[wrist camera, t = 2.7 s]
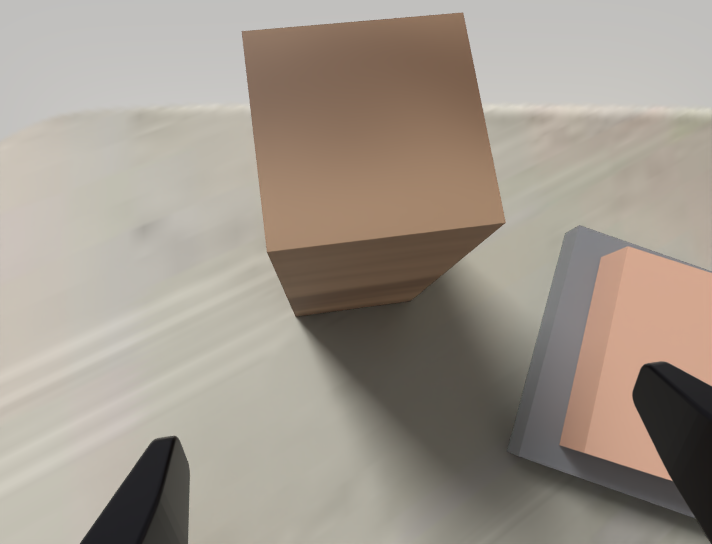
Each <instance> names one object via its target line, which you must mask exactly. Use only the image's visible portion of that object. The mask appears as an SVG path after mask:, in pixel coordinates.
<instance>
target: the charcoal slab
mask: <svg viewBox="0 0 712 544" xmlns="http://www.w3.org/2000/svg"><path fill="white" fill-rule="evenodd" d="M627 246H629V247H632V248H635V249H638V250H641V251H645V252H648V253H651V254H654V255H657V256H660V257H663V258H666V259H669V260H673V261H676V262H679V263H682V264H685V265H688V266H691V267H694V268H697V269H701V270H704V271H707V272H710V273H712V271H709V270H706V269H703V268H700V267H697V266H695V265H692V264H689V263H686V262H683V261H680V260H677V259H675V258H672V257H669V256H666V255H663V254H660V253H657V252H655V251H652V250H649V249H646V248H643V247H640V246H637V245H634V244H632V243H629V242H626V241H623V240H620V239H617V238H614V237H612V236H609V235H606V234H603V233H600V232H597V231H594V230H592V229H589V228H586V227H583V226H580V225H579V226H577V227H575V228H574V229H572V230H570V231H569V232H567V233H565V236H564V240H563V244H562V247H561V251H560V255H559V259H558V262H557V266H556V270H555V273H554V277H553V281H552V285H551V288H550V292H549V296H548V300H547V303H546V307H545V311H544V315H543V318H542V322H541V326H540V329H539V333H538V337H537V341H536V344H535V348H534V352H533V356H532V359H531V363H530V367H529V371H528V374H527V378H526V382H525V386H524V389H523V393H522V397H521V400H520V404H519V408H518V412H517V415H516V419H515V423H514V427H513V430H512V434H511V438H510V442H509V445H508V449H507V452H509V453H512V454H514V455H516V456H519V457H522V458H525V459H527V460H530V461H533V462H536V463H539V464H542V465H544V466H547V467H550V468H553V469H556V470H559V471H562V472H564V473H567V474H570V475H573V476H576V477H579V478H582V479H584V480H587V481H590V482H593V483H596V484H599V485H601V486H604V487H607V488H610V489H613V490H616V491H619V492H621V493H624V494H627V495H630V496H633V497H636V498H639V499H641V500H644V501H647V502H650V503H653V504H656V505H658V506H661V507H664V508H667V509H670V510H673V511H676V512H678V513H681V514H684V515H687V516H690V517H693V518H695V517H694V515H693V513H692V512H691V510H690V509H689V507H688V505H687V504H686V502H685V500H684V499H683V497H682V496H681V494H680V492H679V491H678V489H677V488H676V486H675V484H674V482H673V481H670V480H667V479H664V478H661V477H658V476H655V475H652V474H648V473H645V472H642V471H639V470H636V469H633V468H630V467H626V466H623V465H620V464H617V463H614V462H611V461H608V460H605V459H601V458H598V457H595V456H592V455H589V454H586V453H583V452H579V451H576V450H573V449H570V448H567V447H564V446H561V445H559V444H560V440H561V435H562V431H563V426H564V422H565V417H566V413H567V408H568V404H569V399H570V395H571V390H572V386H573V381H574V376H575V372H576V367H577V363H578V358H579V354H580V349H581V345H582V340H583V336H584V331H585V327H586V322H587V318H588V313H589V309H590V304H591V300H592V295H593V291H594V286H595V282H596V277H597V273H598V268H599V264H600V259H601V257H603V256H605V255H608V254H610V253H612V252H615V251H617V250H620V249H622V248H625V247H627ZM695 519H696V518H695Z"/></svg>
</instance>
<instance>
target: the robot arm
mask: <svg viewBox="0 0 712 544" xmlns="http://www.w3.org/2000/svg"><path fill="white" fill-rule="evenodd" d="M632 398H633V402H634V405H635V407H636V409H637V411H638V413H639V415H640V417H641V419H642V421H643V424H644V426H645V428H646V430H647V432H648V434H649V436H650V438H651V440H652V442H653V444H654V446H655V448H656V450H657V452H658V454H659V456H660V458H661V460H662V462H663V464H664V466H665V468H666V470H667V472H668V474H669V476H670V477H671V479H672V481H673V482H674V484H675V486H676V488H677V489H678V491H679V492H680V494H681V496H682V497H683V499H684V500H685V502H686V504H687V505H688V507H689V509H690V510H691V512H692V513H693V515H694V517H695V518H696V520H697V522H698V523H699V525H700V526H701V528H702V530H703V531H704V533H705V534H706V536H707V538H708V539H709V541H710V543H711V544H712V386H711V385H709V384H707V383H705V382H703V381H701V380H700V379H698V378H696V377H694V376H692V375H690V374H689V373H687V372H685V371H683V370H681V369H679V368H677V367H676V366H674V365H672V364H670V363H668V362H664V361H659V362H652V363H646V364H644V365H643V366H642V367H641V369H640V371H639V374H638V377H637V380H636V383H635V386H634V388H633V392H632ZM189 485H190V470H189V464H188V461H187V458H186V456H185V453H184V450H183V448H182V445H181V443H180V440H179V439H178V437H176V436H169V437H162V438H157V439H155V440H153V441H152V442H151V443H150V445H149V446H148V448H147V449H146V450H145V452H144V453H143V455H142V456H141V457H140V459H139V460H138V462H137V463H136V465H135V466H134V467H133V469H132V470H131V472H130V473H129V475H128V476H127V477H126V479H125V480H124V482H123V483H122V484H121V486H120V487H119V489H118V490H117V492H116V493H115V494H114V496H113V497H112V499H111V500H110V502H109V503H108V504H107V506H106V507H105V509H104V510H103V511H102V513H101V514H100V516H99V517H98V519H97V520H96V521H95V523H94V524H93V526H92V527H91V529H90V530H89V531H88V533H87V534H86V536H85V537H84V538H83V540H82V541H81V543H80V544H188V521H189Z"/></svg>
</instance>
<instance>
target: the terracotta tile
mask: <svg viewBox="0 0 712 544" xmlns="http://www.w3.org/2000/svg"><path fill="white" fill-rule="evenodd" d="M659 361H664V362H668V363H670V364H672V365H674V366H676V367H677V368H679V369H681V370H683V371H685V372H687V373H689V374H690V375H692V376H694V377H696V378H698V379H700V380H701V381H703V382H705V383H707V384H709V385H711V386H712V273H710V272H707V271H704V270H701V269H697V268H694V267H691V266H688V265H685V264H682V263H679V262H676V261H673V260H669V259H666V258H663V257H660V256H657V255H654V254H651V253H648V252H645V251H641V250H638V249H635V248H632V247H629V246H627V247H625V248H622V249H620V250H617V251H615V252H612V253H610V254H608V255H605V256H603V257H601V259H600V264H599V268H598V273H597V277H596V282H595V286H594V291H593V295H592V300H591V304H590V309H589V313H588V318H587V322H586V327H585V331H584V336H583V340H582V345H581V349H580V354H579V358H578V363H577V367H576V372H575V376H574V381H573V386H572V390H571V395H570V399H569V404H568V408H567V413H566V417H565V422H564V426H563V431H562V435H561V440H560V444H559V445H561V446H564V447H567V448H570V449H573V450H576V451H579V452H583V453H586V454H589V455H592V456H595V457H598V458H601V459H605V460H608V461H611V462H614V463H617V464H620V465H623V466H626V467H630V468H633V469H636V470H639V471H642V472H645V473H648V474H652V475H655V476H658V477H661V478H664V479H667V480H670V481H672V479H671V477H670V476H669V474H668V472H667V470H666V468H665V466H664V464H663V462H662V460H661V458H660V456H659V454H658V452H657V450H656V448H655V446H654V444H653V442H652V440H651V438H650V436H649V434H648V432H647V430H646V428H645V426H644V424H643V421H642V419H641V417H640V415H639V413H638V411H637V409H636V407H635V405H634V402H633V398H632V392H633V388H634V386H635V383H636V380H637V377H638V374H639V371H640V369H641V367H642V366H643V365H644V364H646V363H652V362H659Z"/></svg>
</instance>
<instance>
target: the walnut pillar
mask: <svg viewBox="0 0 712 544" xmlns="http://www.w3.org/2000/svg"><path fill="white" fill-rule="evenodd" d="M242 38H243V46H244V55H245V64H246V73H247V82H248V90H249V98H250V108H251V116H252V125H253V134H254V143H255V151H256V160H257V169H258V178H259V186H260V195H261V204H262V213H263V221H264V230H265V239H266V248H267V253H268V255H269V258H270V260H271V262H272V264H273V267H274V269H275V271H276V273H277V276H278V278H279V280H280V282H281V285H282V287H283V289H284V291H285V294H286V296H287V298H288V300H289V303H290V305H291V307H292V310H293V312H294V314H295V316H304V315H311V314H319V313H326V312H334V311H341V310H348V309H356V308H363V307H371V306H378V305H386V304H393V303H400V302H408V301H411V300H412V299H414V298H415V297H416V296H417V295H418V294H420V293H421V292H422V291H423V290H425V289H426V288H427V287H428V286H429V285H431V284H432V283H433V282H434V281H435V280H437V279H438V278H439V277H440V276H442V275H443V274H444V273H445V272H446V271H448V270H449V269H450V268H451V267H452V266H454V265H455V264H456V263H457V262H458V261H460V260H461V259H462V258H463V257H465V256H466V255H467V254H468V253H469V252H471V251H472V250H473V249H474V248H475V247H477V246H478V245H479V244H480V243H482V242H483V241H484V240H485V239H486V238H488V237H489V236H490V235H491V234H492V233H494V232H495V231H496V230H497V229H499V228H500V227H501V226H502V225H503V224H505V223H506V222H505V217H504V212H503V207H502V202H501V197H500V192H499V188H498V183H497V178H496V173H495V168H494V163H493V158H492V153H491V148H490V143H489V138H488V133H487V128H486V123H485V118H484V113H483V108H482V103H481V99H480V94H479V89H478V84H477V79H476V74H475V69H474V64H473V60H472V54H471V49H470V44H469V39H468V35H467V29H466V25H465V20H464V15H463V13H453V14H441V15H429V16H418V17H405V18H394V19H383V20H370V21H358V22H346V23H334V24H324V25H311V26H299V27H287V28H275V29H264V30H252V31H242Z"/></svg>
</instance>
